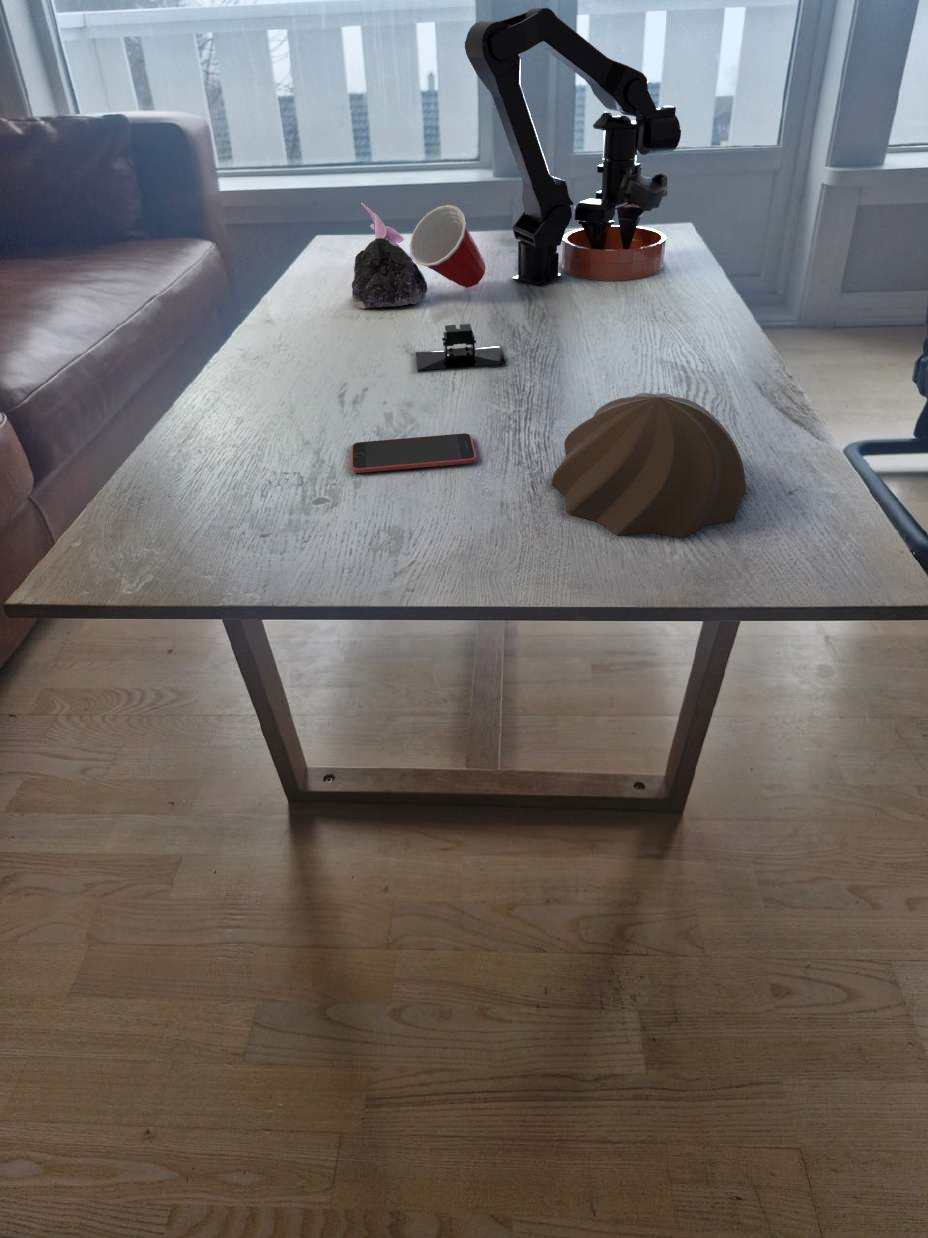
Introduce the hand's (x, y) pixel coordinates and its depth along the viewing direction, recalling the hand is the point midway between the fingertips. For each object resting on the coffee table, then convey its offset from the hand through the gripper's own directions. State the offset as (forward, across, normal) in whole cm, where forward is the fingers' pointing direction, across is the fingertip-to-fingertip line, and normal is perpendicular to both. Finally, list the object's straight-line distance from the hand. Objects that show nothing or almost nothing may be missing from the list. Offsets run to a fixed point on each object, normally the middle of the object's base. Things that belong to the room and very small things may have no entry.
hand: (612, 254), depth 146 cm
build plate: (+2, -52, -7) cm, 53 cm away
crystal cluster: (+2, -37, +22) cm, 43 cm away
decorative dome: (+2, -69, -47) cm, 84 cm away
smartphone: (+2, -78, -22) cm, 81 cm away
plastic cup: (0, -23, +15) cm, 27 cm away
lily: (+2, -18, +41) cm, 45 cm away
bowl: (+2, 0, 0) cm, 2 cm away
